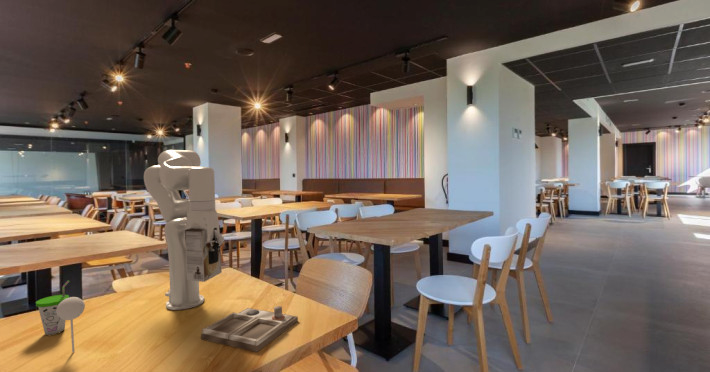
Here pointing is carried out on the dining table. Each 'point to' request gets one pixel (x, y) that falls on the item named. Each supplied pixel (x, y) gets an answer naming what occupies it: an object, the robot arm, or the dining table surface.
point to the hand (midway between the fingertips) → (204, 261)
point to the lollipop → (70, 311)
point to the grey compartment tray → (249, 328)
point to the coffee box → (200, 256)
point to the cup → (52, 312)
